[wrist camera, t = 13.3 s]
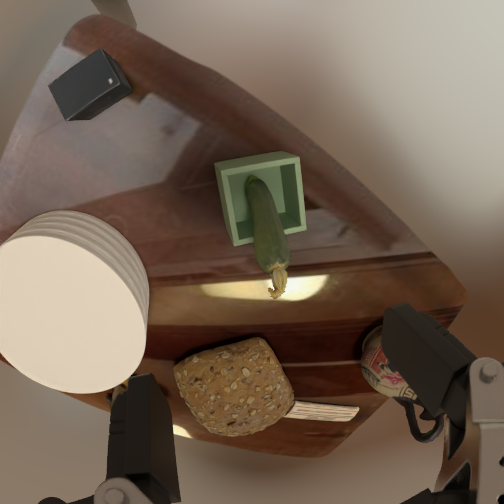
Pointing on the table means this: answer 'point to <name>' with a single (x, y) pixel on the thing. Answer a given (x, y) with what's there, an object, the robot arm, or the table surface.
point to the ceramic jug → (395, 385)
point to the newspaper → (320, 411)
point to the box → (90, 87)
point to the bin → (278, 182)
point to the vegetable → (268, 234)
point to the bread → (235, 387)
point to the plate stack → (72, 303)
